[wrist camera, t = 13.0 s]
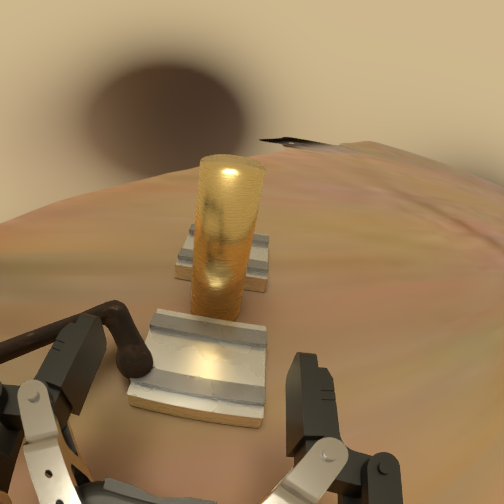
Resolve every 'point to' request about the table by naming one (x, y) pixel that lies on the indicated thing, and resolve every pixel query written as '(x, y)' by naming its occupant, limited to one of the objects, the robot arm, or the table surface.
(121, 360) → the wrench
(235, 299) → the link pin
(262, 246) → the metal plates
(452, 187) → the table surface
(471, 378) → the table surface
